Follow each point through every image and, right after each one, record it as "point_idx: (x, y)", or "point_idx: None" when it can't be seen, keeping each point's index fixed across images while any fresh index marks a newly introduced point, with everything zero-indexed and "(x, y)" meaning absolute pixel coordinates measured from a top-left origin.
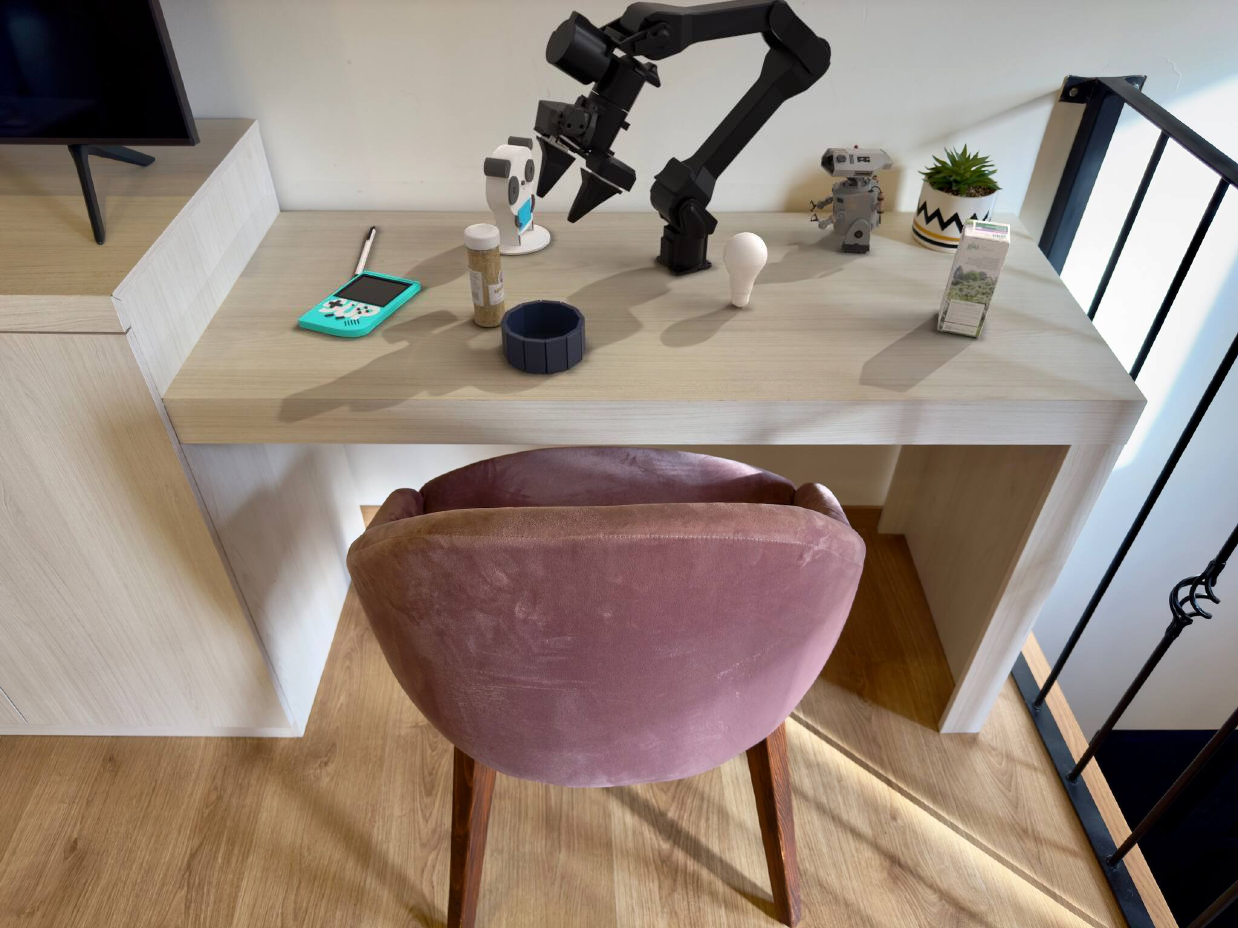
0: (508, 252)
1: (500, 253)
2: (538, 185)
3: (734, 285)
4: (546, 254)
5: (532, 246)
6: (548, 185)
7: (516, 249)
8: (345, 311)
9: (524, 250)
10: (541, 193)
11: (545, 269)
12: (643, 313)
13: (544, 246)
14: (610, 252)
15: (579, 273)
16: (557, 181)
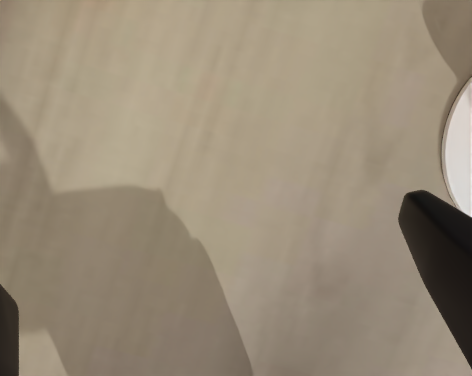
0: (460, 101)
1: (470, 80)
2: (463, 222)
3: None
4: None
5: (467, 176)
6: (448, 288)
7: (468, 128)
8: None
9: (454, 148)
10: (412, 223)
11: (337, 178)
12: None
13: (460, 210)
14: (365, 366)
15: (283, 260)
16: (466, 359)
